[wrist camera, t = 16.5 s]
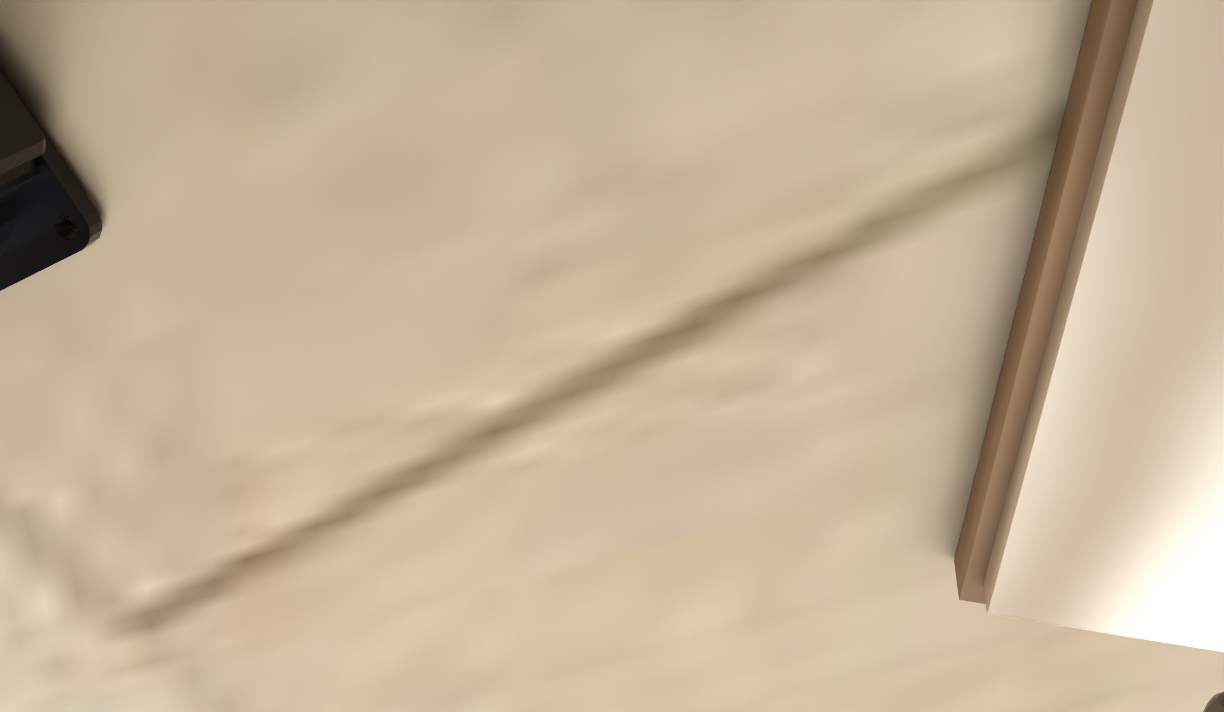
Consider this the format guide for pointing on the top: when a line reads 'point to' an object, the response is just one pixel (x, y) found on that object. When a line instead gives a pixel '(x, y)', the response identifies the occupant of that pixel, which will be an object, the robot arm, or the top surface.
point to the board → (1117, 352)
